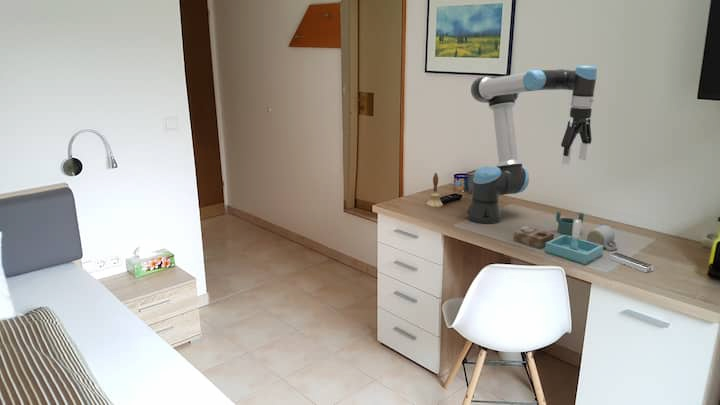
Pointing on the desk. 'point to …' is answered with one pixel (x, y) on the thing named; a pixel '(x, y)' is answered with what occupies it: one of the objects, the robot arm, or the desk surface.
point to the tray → (582, 256)
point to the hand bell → (435, 195)
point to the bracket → (566, 223)
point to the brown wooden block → (533, 237)
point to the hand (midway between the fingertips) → (574, 161)
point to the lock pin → (575, 234)
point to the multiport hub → (631, 262)
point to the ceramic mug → (602, 237)
